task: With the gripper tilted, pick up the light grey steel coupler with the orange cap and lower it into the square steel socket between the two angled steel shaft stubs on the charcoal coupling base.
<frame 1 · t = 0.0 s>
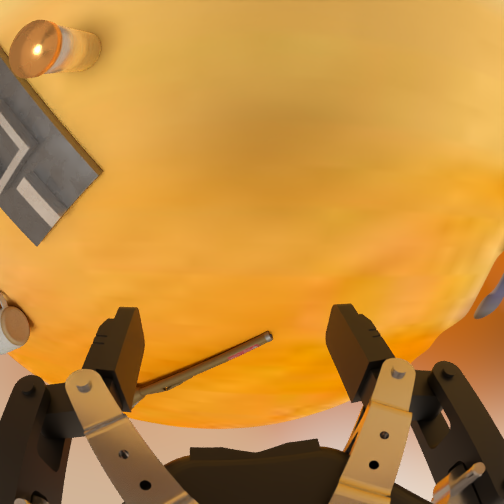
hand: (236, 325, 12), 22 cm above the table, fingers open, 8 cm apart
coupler: (82, 51, 22), on the table
torque wrench: (181, 368, 49), on the table
coupling base: (9, 142, 25), on the table
ceramic mug: (9, 309, 39), on the table
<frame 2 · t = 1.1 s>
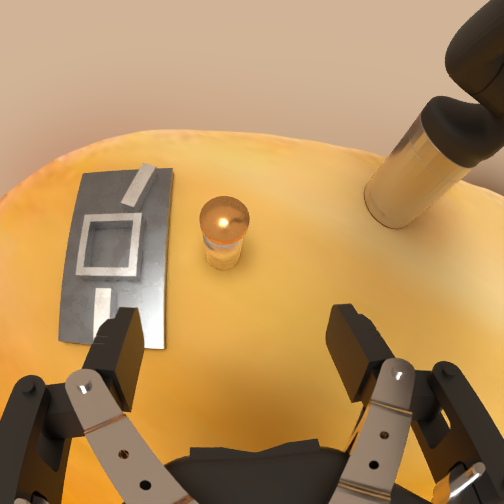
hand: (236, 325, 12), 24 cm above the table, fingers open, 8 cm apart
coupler: (222, 252, 38), on the table
coupling base: (116, 253, 37), on the table
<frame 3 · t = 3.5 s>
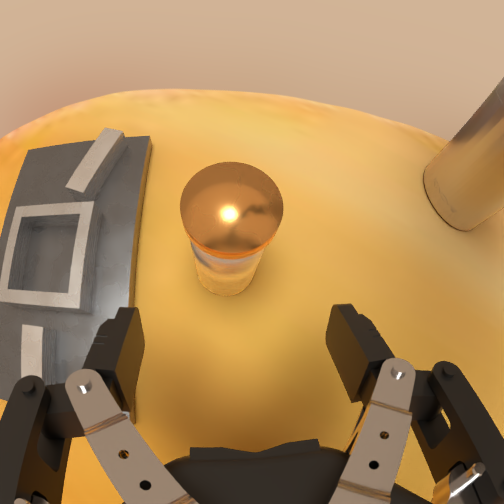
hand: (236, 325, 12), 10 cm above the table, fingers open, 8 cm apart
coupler: (225, 267, 23), on the table
coupling base: (60, 266, 22), on the table
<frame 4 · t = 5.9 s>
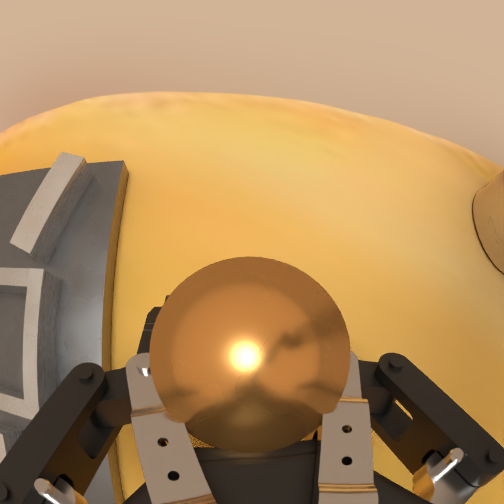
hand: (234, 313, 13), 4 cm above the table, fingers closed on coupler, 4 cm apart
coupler: (232, 358, 16), on the table, touching gripper
coupling base: (19, 342, 14), on the table
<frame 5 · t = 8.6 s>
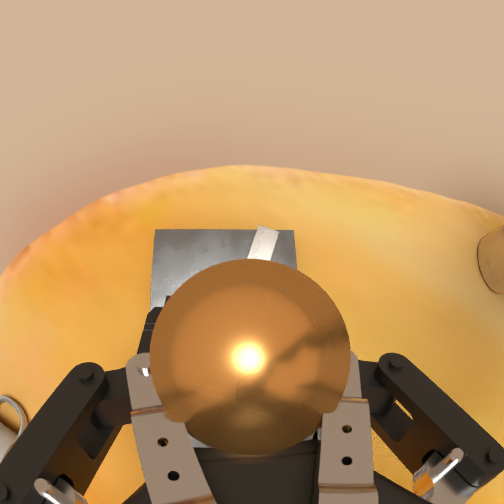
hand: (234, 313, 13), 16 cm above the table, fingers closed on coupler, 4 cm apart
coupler: (232, 359, 16), point 12 cm above the table, touching gripper
coupling base: (225, 353, 27), on the table
ceramic mug: (11, 434, 21), on the table
when the fingers open (7 cm above the table, at t = 11.3 s): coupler stays where it is, resting on coupling base.
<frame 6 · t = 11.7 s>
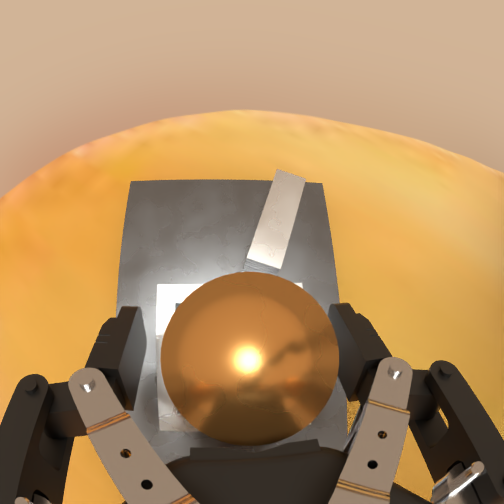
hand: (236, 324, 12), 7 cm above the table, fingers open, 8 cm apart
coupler: (232, 360, 17), point 2 cm above the table, touching coupling base
coupling base: (230, 358, 18), on the table
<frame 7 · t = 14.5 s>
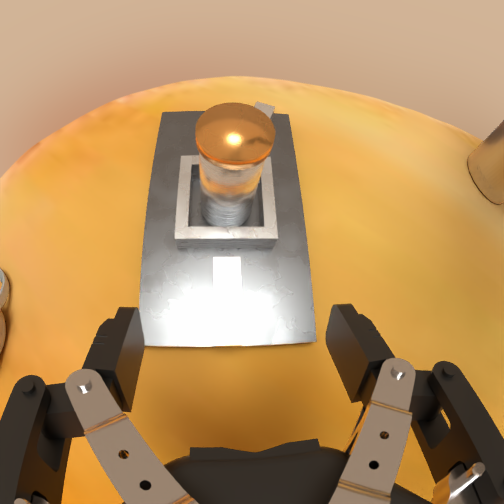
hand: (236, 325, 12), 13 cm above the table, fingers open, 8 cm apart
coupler: (225, 206, 26), point 2 cm above the table, touching coupling base
coupling base: (224, 213, 28), on the table
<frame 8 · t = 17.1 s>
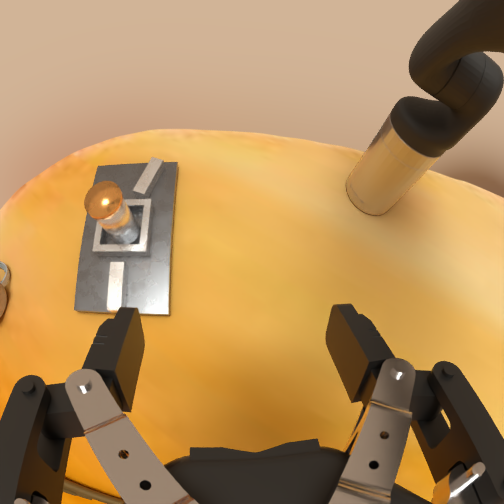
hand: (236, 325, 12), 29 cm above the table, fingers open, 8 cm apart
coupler: (125, 230, 41), point 2 cm above the table, touching coupling base
torque wrench: (85, 485, 29), on the table
coupling base: (127, 234, 43), on the table
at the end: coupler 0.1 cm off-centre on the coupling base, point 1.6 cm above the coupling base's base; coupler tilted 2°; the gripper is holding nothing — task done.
